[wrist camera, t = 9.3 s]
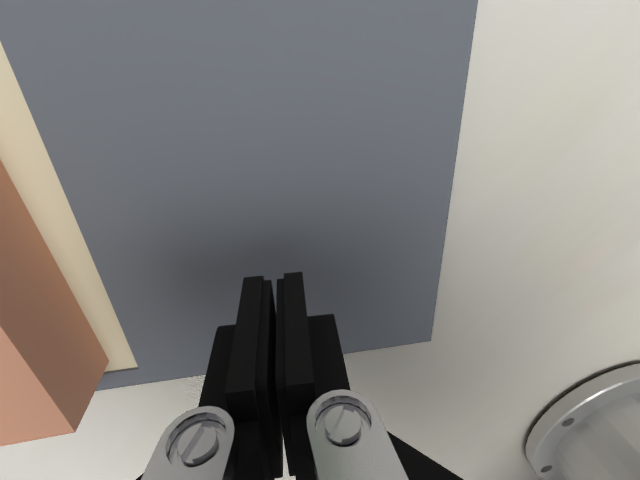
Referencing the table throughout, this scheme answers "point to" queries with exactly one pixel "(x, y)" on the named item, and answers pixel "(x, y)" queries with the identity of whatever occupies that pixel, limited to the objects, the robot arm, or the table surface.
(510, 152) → the table surface
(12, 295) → the tee
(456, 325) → the table surface
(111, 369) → the mat
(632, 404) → the robot arm
